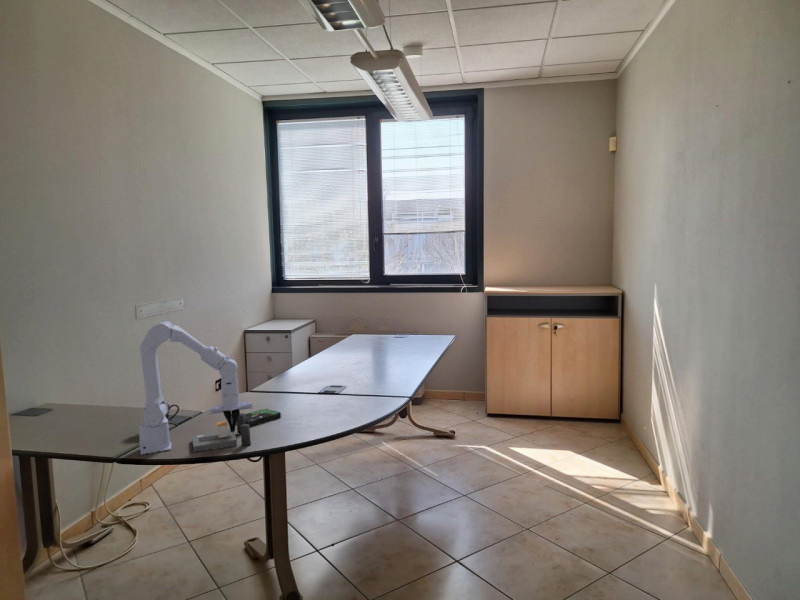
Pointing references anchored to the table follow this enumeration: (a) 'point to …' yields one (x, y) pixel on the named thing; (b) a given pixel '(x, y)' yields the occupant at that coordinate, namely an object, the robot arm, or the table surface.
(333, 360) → the table surface
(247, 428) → the post
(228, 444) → the breaker panel
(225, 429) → the block
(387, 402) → the table surface
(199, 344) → the robot arm
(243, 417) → the cylinder
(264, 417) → the disk drive
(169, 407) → the coffee mug
